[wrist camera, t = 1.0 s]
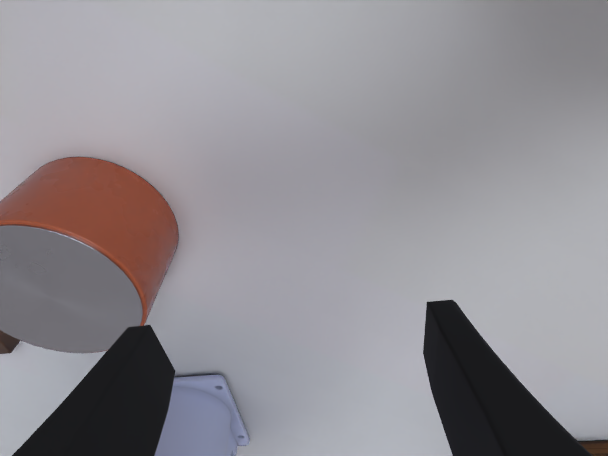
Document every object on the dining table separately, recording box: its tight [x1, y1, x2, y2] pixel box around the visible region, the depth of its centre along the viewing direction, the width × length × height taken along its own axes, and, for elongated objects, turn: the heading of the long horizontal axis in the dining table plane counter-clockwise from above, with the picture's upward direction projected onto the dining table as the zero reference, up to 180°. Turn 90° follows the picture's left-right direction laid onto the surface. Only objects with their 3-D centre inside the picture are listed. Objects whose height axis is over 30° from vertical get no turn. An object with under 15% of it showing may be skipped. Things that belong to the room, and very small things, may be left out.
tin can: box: [0, 157, 178, 353], centre depth 18 cm, size 8×8×5 cm
